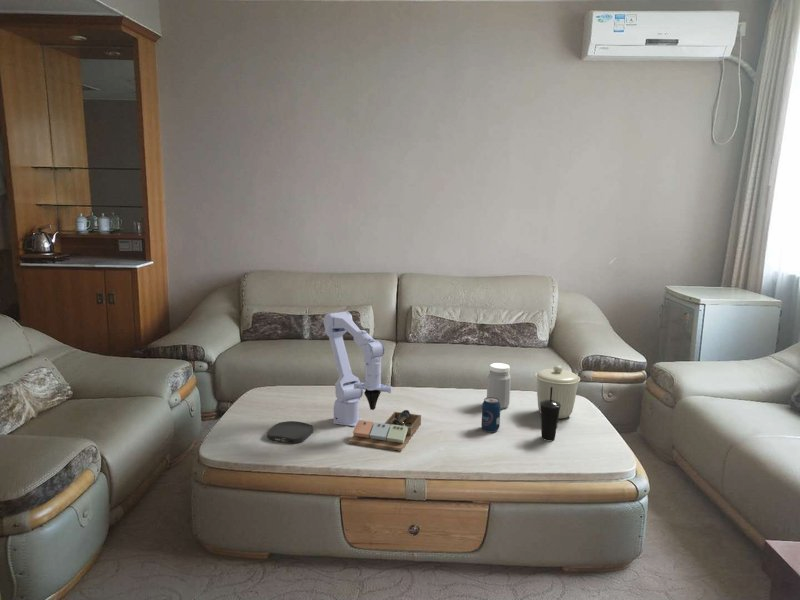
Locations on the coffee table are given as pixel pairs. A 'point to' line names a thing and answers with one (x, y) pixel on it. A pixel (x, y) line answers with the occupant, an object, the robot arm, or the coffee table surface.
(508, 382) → the jar
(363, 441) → the board
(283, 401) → the coffee table surface
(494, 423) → the soda can
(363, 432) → the tile
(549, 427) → the drinking cup
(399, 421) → the eagle figurine
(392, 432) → the tile
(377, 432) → the tile
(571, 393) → the canister
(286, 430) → the media streaming box
